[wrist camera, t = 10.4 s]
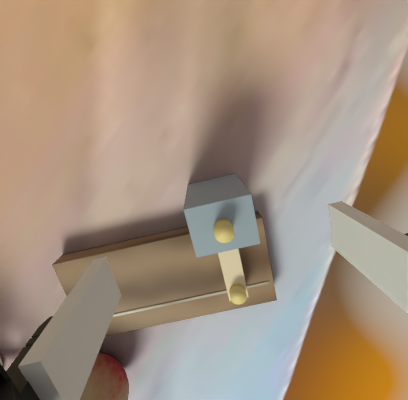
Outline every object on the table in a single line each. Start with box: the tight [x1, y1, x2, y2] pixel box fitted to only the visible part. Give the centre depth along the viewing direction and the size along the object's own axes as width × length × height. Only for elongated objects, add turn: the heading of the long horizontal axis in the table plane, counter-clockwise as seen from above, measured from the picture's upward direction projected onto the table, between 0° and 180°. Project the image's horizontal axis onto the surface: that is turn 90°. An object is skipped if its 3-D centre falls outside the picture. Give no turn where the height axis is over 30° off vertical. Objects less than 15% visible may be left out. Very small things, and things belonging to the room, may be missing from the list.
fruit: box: [80, 353, 129, 400], centre depth 28 cm, size 8×8×8 cm
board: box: [53, 211, 277, 336], centre depth 28 cm, size 10×22×2 cm, turn 103°
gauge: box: [183, 174, 260, 305], centre depth 23 cm, size 12×5×9 cm, turn 13°
